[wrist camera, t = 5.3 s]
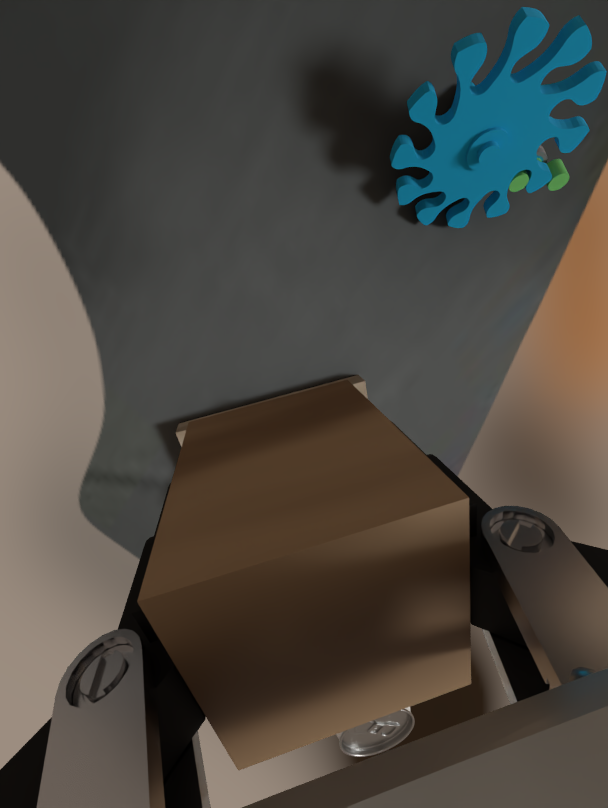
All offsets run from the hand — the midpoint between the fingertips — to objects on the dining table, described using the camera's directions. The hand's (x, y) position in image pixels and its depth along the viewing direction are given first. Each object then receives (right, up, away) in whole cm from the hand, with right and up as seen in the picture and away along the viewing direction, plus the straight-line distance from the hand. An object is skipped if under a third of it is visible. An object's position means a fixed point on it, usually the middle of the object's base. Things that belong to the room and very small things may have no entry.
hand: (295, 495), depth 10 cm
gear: (+10, +18, +12) cm, 24 cm away
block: (0, +1, +1) cm, 2 cm away
